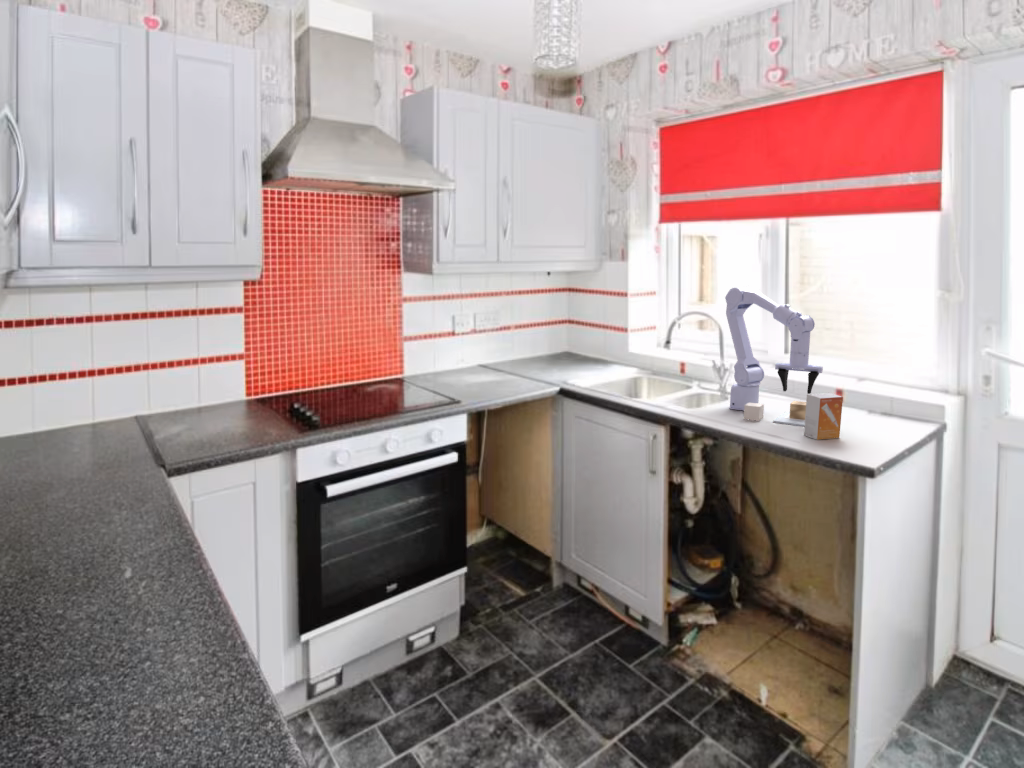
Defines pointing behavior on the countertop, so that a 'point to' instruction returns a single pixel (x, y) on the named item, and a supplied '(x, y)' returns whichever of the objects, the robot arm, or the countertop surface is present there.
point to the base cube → (797, 410)
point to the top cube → (753, 411)
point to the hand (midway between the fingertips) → (796, 392)
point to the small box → (823, 416)
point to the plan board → (789, 420)
